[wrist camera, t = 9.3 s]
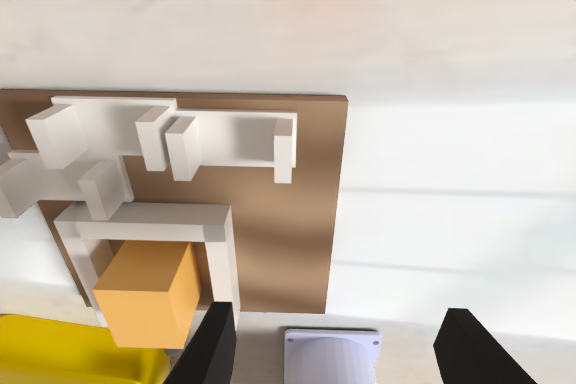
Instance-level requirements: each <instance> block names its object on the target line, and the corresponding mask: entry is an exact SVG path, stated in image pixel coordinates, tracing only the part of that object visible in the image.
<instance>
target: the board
mask: <svg viewBox="0 0 576 384" xmlns="http://www.w3.org/2000/svg"><path fill="white" fill-rule="evenodd" d="M54 96H92V97H142V98H176V102H177V108H196V109H245V110H294V111H297V133H296V168H292V175H291V183H274V167H247V166H204V165H199V167H198V169H197V171H196V173H195V174H194V176H193V178H192V180H191V181H174V177H173V172H172V167H171V162H170V164H169V165H168V166H167V168H166V169H165V170H164V171H147V169H146V165H145V161H144V157H143V156H130V155H122V156H123V160H124V163H125V167H126V171H127V174H128V178H129V181H130V185H131V188H132V192H133V195H134V199H133V201H132V202H139V203H179V204H220V205H231V214H232V225H233V235H234V245H235V255H236V266H237V276H238V286H239V296H240V311H244V312H278V313H312V314H325V307H326V298H327V289H328V280H329V271H330V262H331V253H332V244H333V235H334V226H335V217H336V208H337V199H338V190H339V181H340V172H341V163H342V154H343V145H344V136H345V127H346V118H347V109H348V100H347V97H346V96H326V95H275V94H224V93H173V92H122V91H71V90H20V89H1V90H0V124H1V127H2V129H3V131H4V133H5V135H6V137H7V139H8V141H9V143H10V146H11V148H12V150H38V148H37V146H36V144H35V141H34V139H33V137H32V134H31V132H30V130H29V127H28V125H27V123H26V120H25V119H27V118H29V117H32V116H34V115H36V114H38V113H40V112H42V111H44V110H46V109H48V108H50V107H52V106H53V103H52V101H51V98H52V97H54ZM37 202H38V205H39V207H40V209H41V211H42V213H43V215H44V217H45V219H46V221H47V224H48V226H49V228H50V230H51V232H52V234H53V236H54V238H55V240H56V243H57V245H58V247H59V249H60V251H61V253H62V255H63V257H64V259H65V262H66V264H67V266H68V268H69V270H70V272H71V274H72V276H73V278H74V281H75V283H76V285H77V287H78V289H79V291H80V293H81V295H82V297H83V300H84V302H85V304H86V306H87V307H92V305H91V303H90V300H89V298H88V296H87V294H86V292H85V289H84V287H83V285H82V283H81V281H80V279H79V276H78V274H77V272H76V270H75V268H74V266H73V263H72V261H71V259H70V257H69V255H68V253H67V250H66V248H65V246H64V244H63V242H62V239H61V237H60V235H59V233H58V231H57V229H56V226H55V224H54V222H53V221H54V220H55V219H56V218H57V217H58V216H59V215H60V214H61V213H62V212H63V211H64V210H65V209H66V208H67V207H68V206H69V205H70V204H72V203H73V202H74V201H72V200H39V201H37ZM108 241H109V244H110V247H111V249H112V252H113V255H114V257H115V255H116V254H117V252H118V251H119V249H120V248H121V247H122V245H123V244H124V242H125V241H126V240H116V239H108ZM193 244H194V250H195V255H196V261H197V266H198V272H199V277H200V283H201V288H202V291H201V295H200V298H199V301H198V304H197V307H196V310H208V309H209V307H210V305H211V303H212V302H214V296H213V290H212V284H211V277H210V271H209V265H208V258H207V252H206V246H205V242H193Z"/></svg>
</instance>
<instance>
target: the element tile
mask: <svg viewBox="0 0 576 384" xmlns="http://www.w3.org/2000/svg"><path fill="white" fill-rule="evenodd" d="M170 359H171V357H170V356H168V355H166V353H165V352H164V349H163V348H136V347H117V345H116V343H115V341H114V338H113V336H112V334H111V332H110V329H107V328H101V327H94V326H88V325H81V324H75V323H68V322H62V321H55V320H49V319H42V318H36V317H29V316H23V315H16V314H6V315H0V384H162V383H163V382H164V381H165V379H166V378H167V376H168V375H169V373H170Z"/></svg>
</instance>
